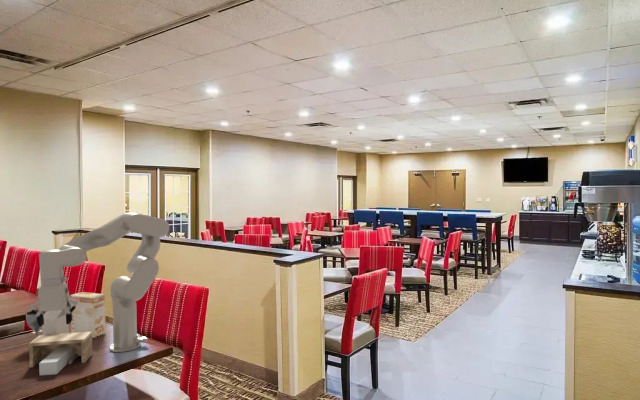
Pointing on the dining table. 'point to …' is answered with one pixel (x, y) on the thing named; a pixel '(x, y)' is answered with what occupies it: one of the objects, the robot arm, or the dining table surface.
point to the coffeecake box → (88, 313)
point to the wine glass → (33, 322)
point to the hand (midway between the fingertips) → (55, 324)
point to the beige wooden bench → (50, 342)
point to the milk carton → (55, 323)
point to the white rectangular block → (56, 360)
